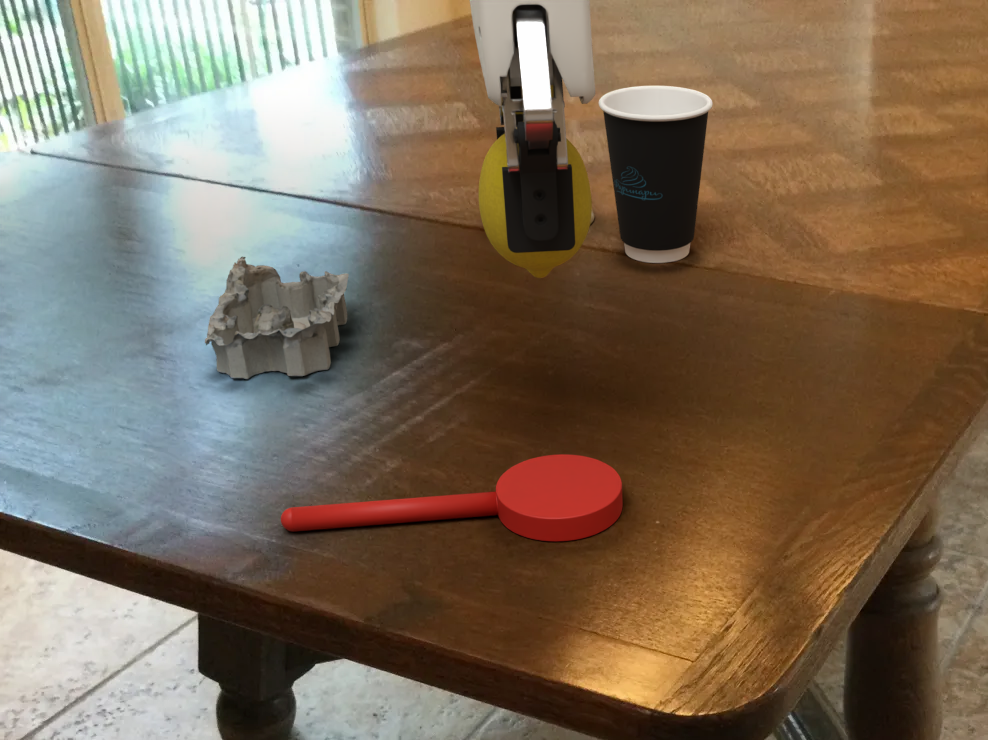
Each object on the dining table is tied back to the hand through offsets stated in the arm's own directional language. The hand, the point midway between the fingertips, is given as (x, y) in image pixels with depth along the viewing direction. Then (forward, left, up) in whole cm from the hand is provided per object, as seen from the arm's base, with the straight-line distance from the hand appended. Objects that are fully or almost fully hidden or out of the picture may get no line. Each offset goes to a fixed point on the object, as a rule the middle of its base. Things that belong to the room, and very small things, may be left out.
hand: (537, 222), depth 67 cm
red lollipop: (-5, -6, -13) cm, 15 cm away
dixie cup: (+10, +29, -13) cm, 33 cm away
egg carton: (-15, +16, -13) cm, 26 cm away
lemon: (0, 0, -3) cm, 3 cm away
